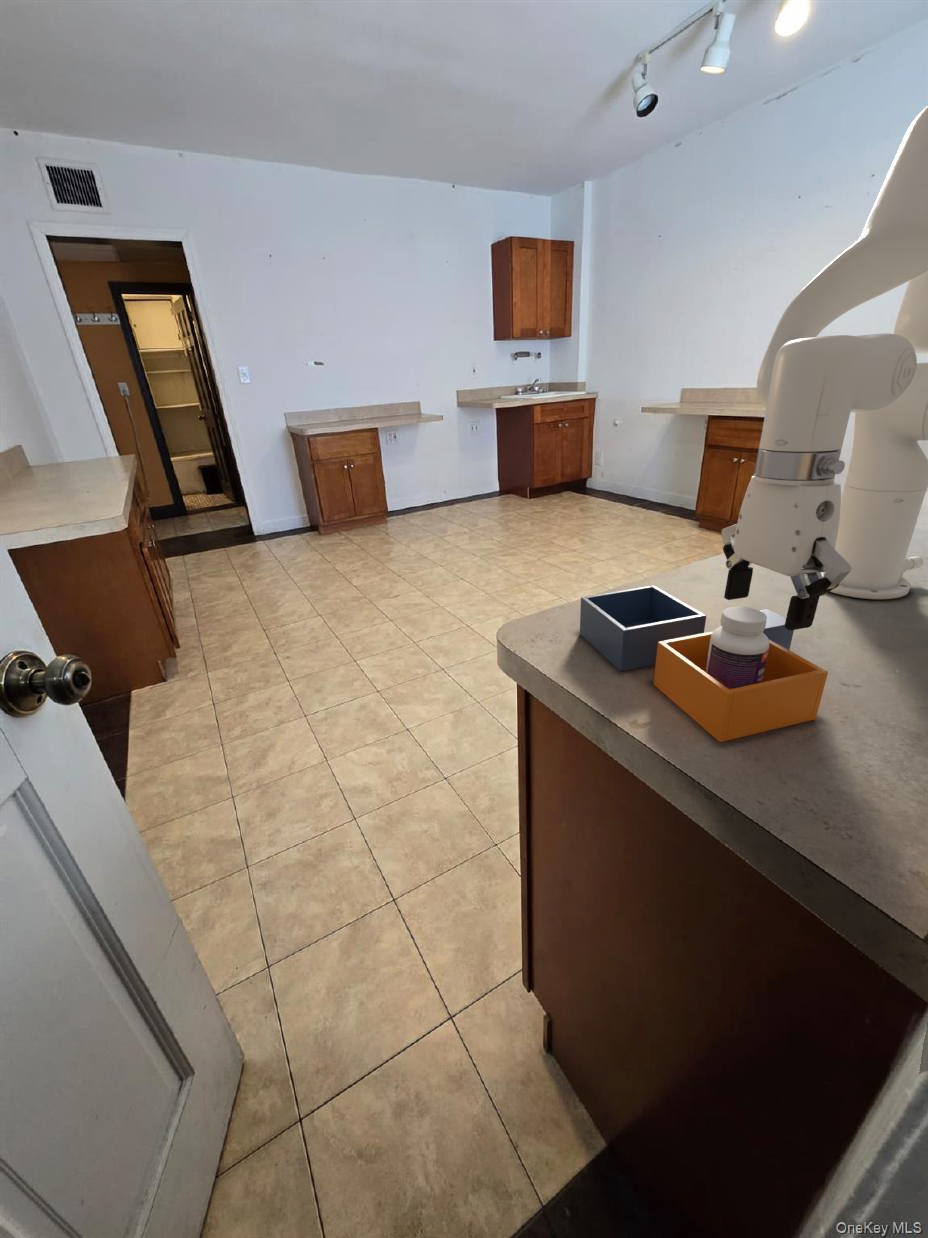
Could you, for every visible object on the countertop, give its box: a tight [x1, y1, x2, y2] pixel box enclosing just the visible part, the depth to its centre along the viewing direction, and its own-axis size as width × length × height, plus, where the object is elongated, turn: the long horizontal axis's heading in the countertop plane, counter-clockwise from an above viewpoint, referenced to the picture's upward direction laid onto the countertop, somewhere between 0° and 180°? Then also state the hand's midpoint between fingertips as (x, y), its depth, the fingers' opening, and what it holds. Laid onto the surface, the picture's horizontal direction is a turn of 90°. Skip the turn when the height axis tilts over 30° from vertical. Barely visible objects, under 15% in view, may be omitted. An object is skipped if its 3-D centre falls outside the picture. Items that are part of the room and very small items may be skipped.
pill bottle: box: [705, 606, 769, 690], centre depth 53 cm, size 5×5×10 cm
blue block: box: [759, 608, 795, 651], centre depth 64 cm, size 4×4×4 cm
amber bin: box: [653, 630, 829, 743], centre depth 54 cm, size 11×11×6 cm
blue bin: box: [579, 584, 707, 672], centre depth 67 cm, size 11×11×6 cm
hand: (764, 611), depth 62 cm, fingers open, 9 cm apart
